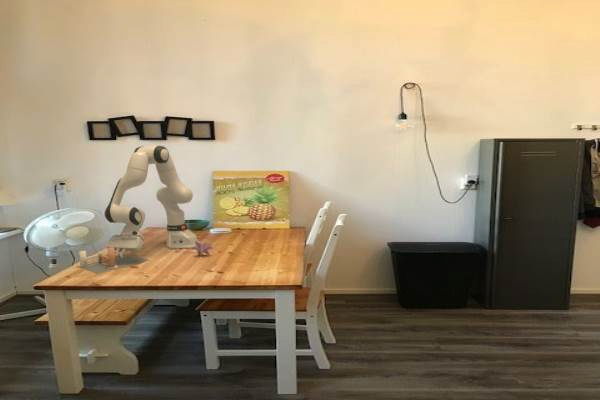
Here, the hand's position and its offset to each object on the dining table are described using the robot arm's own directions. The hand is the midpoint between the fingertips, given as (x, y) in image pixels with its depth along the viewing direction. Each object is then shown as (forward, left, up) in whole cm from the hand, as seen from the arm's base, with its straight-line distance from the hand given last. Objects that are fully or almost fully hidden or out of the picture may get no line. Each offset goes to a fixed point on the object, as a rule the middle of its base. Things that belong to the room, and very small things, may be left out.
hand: (118, 256), depth 208 cm
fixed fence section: (+16, +2, -5) cm, 17 cm away
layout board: (+5, -2, -5) cm, 7 cm away
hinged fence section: (+6, +2, -4) cm, 8 cm away
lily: (-37, -25, -5) cm, 45 cm away
